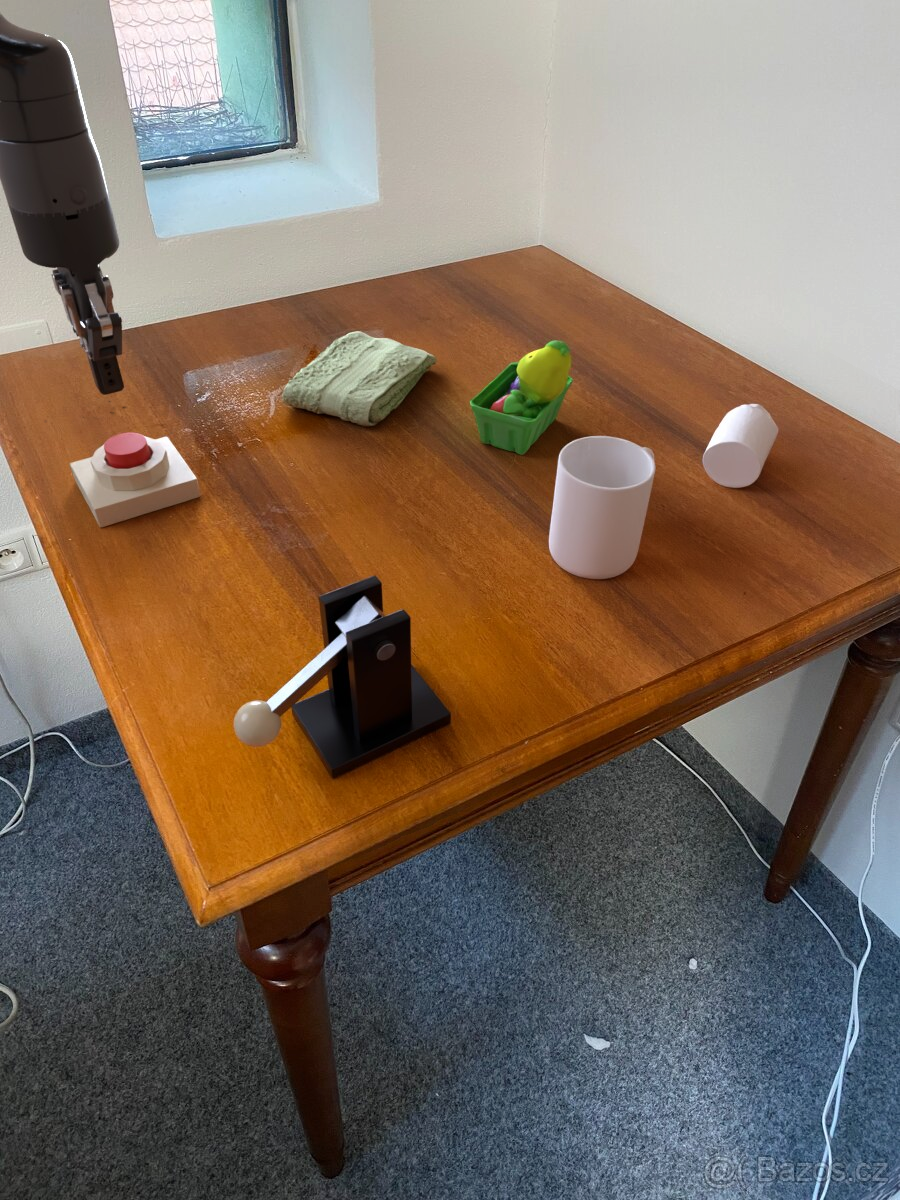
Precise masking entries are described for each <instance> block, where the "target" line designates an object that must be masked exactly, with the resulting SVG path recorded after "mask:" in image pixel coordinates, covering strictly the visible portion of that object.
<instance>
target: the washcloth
mask: <svg viewBox="0 0 900 1200" xmlns="http://www.w3.org/2000/svg"><path fill="white" fill-rule="evenodd" d="M436 364H437V358H436V356H435V355H433V354H431V353H428V352H427V351H425V350H424V349H421V348H416V347H413V346H409V345H405V344H402V343H401V342H399V341H396V340H394V339H392V338H388V337H380V338H379V337H373V336H370V335H368V334H366V333H364V332H363V331H359V330H357V331H352V332H348V333H347V334H346V335H342V336H341V337H339V338H336V339H335V340H333V342H331V344H330V345H329V346H327V347H326V349H324V350H323V351H321V352H320V354H318V355H317V356H316V357H315V359H313V360H311V362H309V363H308V364H306V366H305V367H302V368H301V369H300V370H299V372H296V374H295V375H294V376H293V377H292V378H290V379H289V380H288V383H286V385H285V386H284V388H283V389H282V394H281V396H280V398H282V399H281V401H282V402H284V405H286V406H289V407H294V408H296V409H303V410H307V412H308V411H309V412H312V413H315V414H317V415H319V414H320V415H323V414H325V415H328V416H329V415H330V416H331V417H338V418H340V419H341V421H344V422H345V421H346V422H351V423H352V424H356V425H358V426H361V427H373V426H376V425H377V424H378V423H379V422H381V421H383V420H385V419H386V417H387V416H389V415H390V414H391V412H392V411H393V410H396V409H397V408H398V407H399V406H400V404H401V403H402V402H403V401H404V399H405V398H406V397H407V395H408V394H409V393H410V392H411V390H412V389H413V388H414V387H415V386H416V384H417V383H418V382H419V380H420V379H421V378H422V377H423V375H425V373H427V372H428V370H429V369H430V368H431V367H432V366H433V365H436Z"/></svg>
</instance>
